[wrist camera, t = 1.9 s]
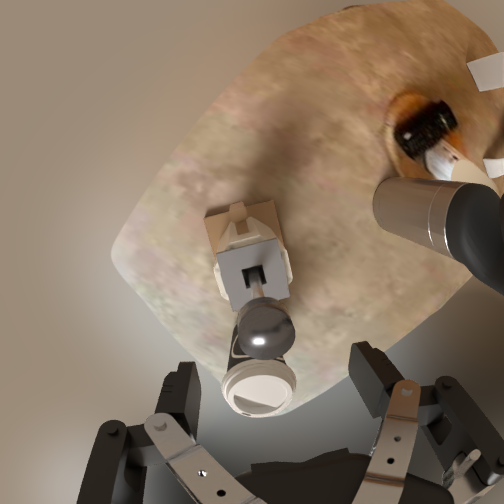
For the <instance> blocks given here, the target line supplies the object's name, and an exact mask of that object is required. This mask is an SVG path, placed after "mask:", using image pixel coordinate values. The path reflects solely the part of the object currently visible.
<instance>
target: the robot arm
mask: <svg viewBox="0 0 504 504" xmlns="http://www.w3.org/2000/svg"><path fill="white" fill-rule="evenodd" d="M373 211H374V215H375V218H376V220H377V222H378V224H379V225H380V226H381V227H382V228H383V229H385V230H386V231H388V232H391V233H393V234H396V235H398V236H401V237H403V238H406V239H408V240H410V241H413V242H415V243H418V244H420V245H422V246H425V247H427V248H429V249H432V250H434V251H436V252H439V253H441V254H443V255H446V256H448V257H450V258H452V259H454V260H457V261H458V262H460V263H462V264H464V265H465V266H466V267H467V268H468V269H469V271H470V272H471V273H472V274H473V275H474V276H475V277H476V278H477V279H479V280H480V281H482V282H483V283H485V284H486V285H488V286H489V287H491V288H493V289H494V290H496V291H497V292H499V293H500V294H502V295H503V296H504V194H503V195H502V197H501V199H500V197H499V196H498V195H497V193H496V192H495V191H494V190H493V189H491V188H490V187H488V186H485V185H482V184H475V183H467V182H458V181H446V180H434V179H421V178H405V177H391V178H388V179H386V180H385V181H383V182H382V183H381V184H380V185H379V187H378V188H377V190H376V192H375V195H374V199H373ZM348 370H349V375H350V377H351V379H352V381H353V383H354V385H355V386H356V388H357V390H358V392H359V393H360V395H361V397H362V399H363V401H364V403H365V404H366V406H367V408H368V410H369V412H370V414H371V416H372V417H373V418H376V417H379V416H381V418H382V422H381V425H380V427H379V430H378V433H377V436H376V439H375V442H374V444H373V447H372V450H371V452H370V454H369V455H365V454H359V453H349V451H348V448H344V449H340V450H336V451H332V452H327V453H324V454H322V455H319V456H317V457H315V458H312V459H310V460H308V461H305V462H302V463H293V462H268V463H257V464H251V470H249V471H246V472H244V473H241V474H239V475H237V476H235V477H234V478H233V477H232V476H231V475H230V474H229V473H228V472H227V471H226V470H225V469H224V468H223V467H222V466H221V465H220V464H219V463H217V461H216V460H215V459H213V457H212V456H211V455H210V454H209V453H208V452H207V451H206V450H205V449H204V448H203V447H202V446H201V445H199V444H198V445H196V444H195V443H196V437H197V428H198V419H199V409H200V400H201V384H200V380H199V376H198V372H197V368H196V364H195V362H180V363H179V366H178V370H177V372H170V373H169V374H168V375H167V376H166V377H165V379H164V382H163V387H162V389H161V393H160V396H159V399H158V403H157V406H156V410H155V413H154V414H153V415H151V416H150V417H148V418H147V419H146V421H145V423H144V424H141V425H136V426H128V427H126V425H125V424H124V423H123V422H121V421H118V420H110V421H107V422H105V423H103V424H102V425H101V427H100V428H99V431H98V434H97V437H96V439H95V442H94V445H93V448H92V451H91V455H90V458H89V461H88V464H87V467H86V471H85V474H84V478H83V481H82V485H81V488H80V492H79V496H78V500H77V504H143V496H144V488H145V480H146V473H147V466H151V465H157V464H162V463H165V464H166V465H167V466H168V468H169V469H170V470H171V471H172V473H173V474H174V475H175V477H176V478H177V479H178V481H179V482H180V483H181V484H182V485H183V487H184V488H185V489H186V490H187V492H188V493H189V494H190V495H191V497H192V498H193V499H194V500H195V501H196V502H197V504H472V503H474V502H475V501H477V500H478V499H479V498H481V497H482V496H483V495H484V494H485V493H486V492H488V491H489V490H490V489H491V488H492V487H493V486H495V485H496V484H497V483H498V482H499V481H500V480H501V479H502V478H503V477H504V440H503V439H502V437H501V436H500V435H499V433H498V432H497V431H496V429H495V428H494V426H493V425H492V424H491V422H490V421H489V420H488V418H487V417H486V416H485V415H484V413H483V412H482V411H481V410H480V408H479V407H478V406H477V404H476V403H475V402H474V401H473V399H472V398H471V397H470V396H469V395H468V393H467V392H466V391H465V390H464V388H463V387H462V386H461V385H460V384H459V382H458V381H457V380H456V379H455V378H452V377H450V376H442V377H439V378H438V379H437V380H436V382H435V384H434V385H431V386H422V387H421V386H419V384H418V383H416V382H415V381H412V380H405V379H404V378H403V376H402V375H401V374H400V372H399V371H398V370H397V368H396V367H395V366H394V365H393V364H392V362H391V361H390V360H389V359H388V357H387V356H386V355H385V353H384V352H382V351H381V350H379V349H377V348H372V347H371V346H370V344H369V343H368V342H367V341H362V342H358V343H353V344H352V346H351V352H350V359H349V366H348ZM446 415H447V417H448V418H449V420H450V421H451V423H450V421H449V420H448V418H447V417H446ZM418 426H420V427H421V428H422V430H423V432H424V434H425V436H426V437H427V439H428V441H429V443H430V444H431V446H432V448H433V450H434V452H435V454H436V455H437V457H438V459H439V461H440V463H441V465H442V466H443V468H444V471H445V472H444V473H443V476H442V481H443V484H442V486H441V485H439V484H436V483H433V482H430V481H428V480H425V479H422V478H420V477H417V476H415V475H412V474H410V473H408V472H407V469H408V465H409V461H410V458H411V454H412V450H413V445H414V442H415V437H416V432H417V427H418Z"/></svg>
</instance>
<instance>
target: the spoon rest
mask: <svg viewBox="0 0 504 504" xmlns="http://www.w3.org/2000/svg"><path fill="white" fill-rule="evenodd" d="M483 162H484V165H485V168H486V171H487V174H488V176H489V178H496V177H499V176H501V175H504V157H503V158H499V159H487V158H484V159H483Z"/></svg>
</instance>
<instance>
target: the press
mask: <svg viewBox="0 0 504 504" xmlns="http://www.w3.org/2000/svg"><path fill="white" fill-rule="evenodd" d="M204 223H205V226H206V230H207V233H208V237H209V240H210V243H211V247H212V250H213V254H214V257H215V264H214V268H213V270H214V274H215V277H216V280H217V283H218V286H219V290H220V293H221V296H222V297H223V298H224V299H226V300H228V301H230V304H231V307H232V310H233V311H237V310H241V308H242V307H243V306H244V305H245V304H246V303H247V302H249V301H250V300H252V294H251V287H250V286H246V284H245V280H244V277H243V273H242V269H246V268H249V267H253V266H257V265H261V264H262V266H263V270H264V274H265V278H266V282H262V287H263V291H264V295H265V297H271V298H275V299H277V300H280V299H284V298H288V297H290V294H289V289H288V286H289V284H290V283H291V281H292V280H293V277H292V272H291V267H290V263H289V258H288V254H287V250H286V249H285V247H284V243H283V239H282V234H281V230H280V226H279V221H278V217H277V213H276V208H275V204H274V200H270V201H266V202H262V203H258V204H254V205H250V206H246V207H245V206H244V204H243V201H242V202H238V203H234V204H230V209H229V211H227V212H223V213H219V214H216V215H212V216H208V217H205V218H204Z"/></svg>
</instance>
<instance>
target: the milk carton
mask: <svg viewBox="0 0 504 504" xmlns="http://www.w3.org/2000/svg"><path fill="white" fill-rule="evenodd" d="M466 64H467V66H468V68H469V70H470V72H471V74H472V76H473V78H474V80H475V83H476V85H477V87H478V89H479V91H480V92H482V91H486V90H491V89H497V88H502V87H504V51H503V52H499V53H496V54H493V55H489V56H486V57H483V58H480V59H477V60H474V61H471V62H468V63H466Z"/></svg>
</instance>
